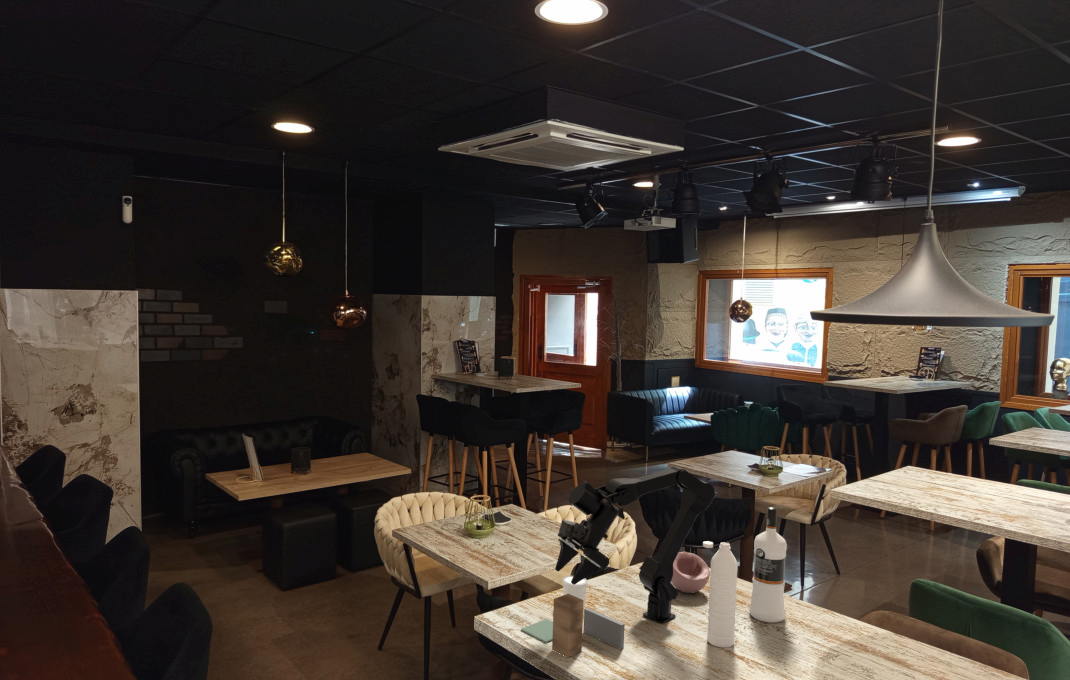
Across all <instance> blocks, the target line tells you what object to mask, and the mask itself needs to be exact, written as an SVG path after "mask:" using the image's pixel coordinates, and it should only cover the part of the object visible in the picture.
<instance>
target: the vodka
mask: <svg viewBox="0 0 1070 680" xmlns="http://www.w3.org/2000/svg"><path fill="white" fill-rule="evenodd" d="M777 516H778V508H777V507H774V506H773V507H772V506H767V508H766V526H765V527H766V528H765V531H763V532H761V533H759V534H757V535H756V536H755V539H754V540H753V542H754V543H753V546H754V549H753V553H754V557H753V577H752V592H751V600H750V604H749V607H748V608H749V615H751V617H752V618H754V619H755V620H757V621H760V622H764V623H770V624H775V623H780V622H783V621H784V620H785V617H786V609H785V595H784V594H785V591H784V590H785V585H786V582H785V570H786V558H787V548H788V544H787V540H786V539H785V538H784V537H783V536H782V535H780V534H779V533H778V532H777V519H778V517H777Z"/></svg>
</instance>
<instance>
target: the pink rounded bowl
mask: <svg viewBox="0 0 1070 680" xmlns="http://www.w3.org/2000/svg"><path fill="white" fill-rule="evenodd" d="M710 572H711V570H710V568H709V566H708V564H707V563H706V562H705V561H704V560H703V558H701V557H700V556H698V555H697V554H695V553H692V552H687V551H681V552H680V551H679V553H678V555H677V557H676V559H675V561H674V563H673V577H672V580H671V584H672V585H673V586H674V587H675V588H676V589H677V590H678V591H680V592H682V593H686V594H693V593H697V592H699V591H701V590H702V589H704V587H706V585H707V584H708V581H710V580H709V579H710V574H711V573H710Z"/></svg>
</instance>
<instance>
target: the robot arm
mask: <svg viewBox="0 0 1070 680" xmlns="http://www.w3.org/2000/svg"><path fill="white" fill-rule="evenodd" d="M676 485H677V486H678V487H679V488H681V490H682V491H681V494H680V508H679V509H678V511H677V512H676V515H675V516H674V519H673V521H672V523H671V524H670V526H669V529H668V530H667V533H666V535H665V537H664V538H663V541H662V543H661V545H660V546H659V548H658V550H657V552H656V553H655V554H654V555H652V556H651V557H650V556H649V555H646V556H645V557H644V560H643V563H642V564H641V566H640V567H639V572H638V578H639V581H640V583H641V584H642V585H643V588H644V590H645V591H647V592H648V593H649V594H648V599H647V610H646V611H645V612H644V613H642V616H643V617H645V618H648V619H650V620H653V621H655V622H657V623H659V624H664V623H666V622H668V621H670V620H672V619H675V618H676V616H677V615H676V614H674V613H672V601H673V600H676V599H677V598H678V595H679V590H678V589H677V588H676V587H675V586H674V585H673V584H672V583H671V580H672V577H673V563H674V561H675V559H676V557H677V555H678V553H679V552H680V551H681V549H682V547H683V545H684V543H685V542H686V541H685V540H686V539H687V537H688V535H689V533H690V531H691V529H692V527H693V525H694V523H695V521H696V518H697V517H698V516H699V515H700V514H701V513H703V512H704V511H706V510H707V509H708V508H709V507H710V504H712V502H713V500H714V499H715V496H716V491H715V487H714V486H713V484H711V483H710V482H707V481H704V480H701V479H698V478H697V477H695V476H694V475H692V474H691V473H690V472H688V471H687V470H686V469H684V468H682V467H679V466H677V465H675V466H674V465H673V466H671V467H669V468H667V469H664V470H663V469H662V470H659V471H655V472H653V473H649V474H646V475H643V476H639V477H634V478H633V477H631V478H630V477H629V478H627V477H621V478H620V477H619V478H612V479H610V480H608V481H606V484H603V485H601V486H599V487H596V488H594V487H593V486H592V485H591V483H589V482H588V481H586V480H583V482H582V483H581V484H579V485H577V486H575V488H573V489H572V490H571V492H570V493H569V496H568V503H569V504H571V506H573V507H575V508H576V509H577V510H578V511H579V512H581V513H583V514H584V515H586V516H589V517H588V519H585V518H584V519H582V520H581V521H580V523H579V522H575V521H571V520H566V519H562V520H561V522H560V525H559V529H558V533H557V537H559V538H557V540H558V542H559V546H560V550H559V554H558V557H557V561H556V564H555V567H554V569H555V570H556V571H557V572H559V571H561V570H562V569H564V567H565V566H566V565H568V564H569V563H570V561H572V560H573V559H574V558H575V557H576V556H578V554H579V550H580V551H581V552H583V553H581V554H580V555H579V557H580V563H579V565H578V567H577V569H576V570H575V572H574V574H573V575H572V576H573V578H572V580H571V583H572V584H574V585H575V584H576V583H578V582H580V581H581V580H583V579H584V578H585V579H587V577H589V576H591V575H594V574H595V573H597V572H599V571H602V570H606V569H608V567H609V565H610V564H611V563H610V558H609V557H608V556H606V555H605V554H603V552H602V551H600V548H598V547H599V545H600V543H601V542H602V540H603V539H604V540H607V538H608V537H609V535H608V534H607V532H608V531H609V529H610V528H611V526H612V525H613V523H614V521H616V518H617V517H618V518H620V519H621V520H625V517H626V516H625V512H624V508H623V507H626V506H629V505H631V504H632V503H634V502H636V501H637V500H639V499H640V497H642V496H643V495H647V494H651V493H653V492H657V491H660V490H663V489H667V488H670V487H673V486H676ZM603 500H604V501H605V502H604V501H603ZM614 504H616V505H618V506H616V505H614ZM577 550H578V551H577ZM606 571H607V570H606Z"/></svg>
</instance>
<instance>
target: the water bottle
mask: <svg viewBox="0 0 1070 680" xmlns="http://www.w3.org/2000/svg"><path fill="white" fill-rule="evenodd" d="M702 547H704V548H706V549H712V548H714V542H713V541H709V540H707V541H703V542H702ZM718 547H719V549H718V550H717V552H715V554H714V555H713V556H712V557H711V560H710V576H709V579H710V580H709V592H708V593H709V594H708V617H707V621H708V623H707V634H706V635H707V636H706V638H707V639H706V640H707V642H708V643H709V644H710V645H712V646H713V647H717V648H730V647H733V646H734V644H735V631H736V630H735V629H736V627H735V625H736V624H735V623H736V617H735V616H736V608H737V605H736V604H737V583H738V570H739V569H738V561H737V559H736V557H735V555H734V554H733V552H732V551H731V544H730V542H725V541H723V542H720V544H719V546H718Z"/></svg>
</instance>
